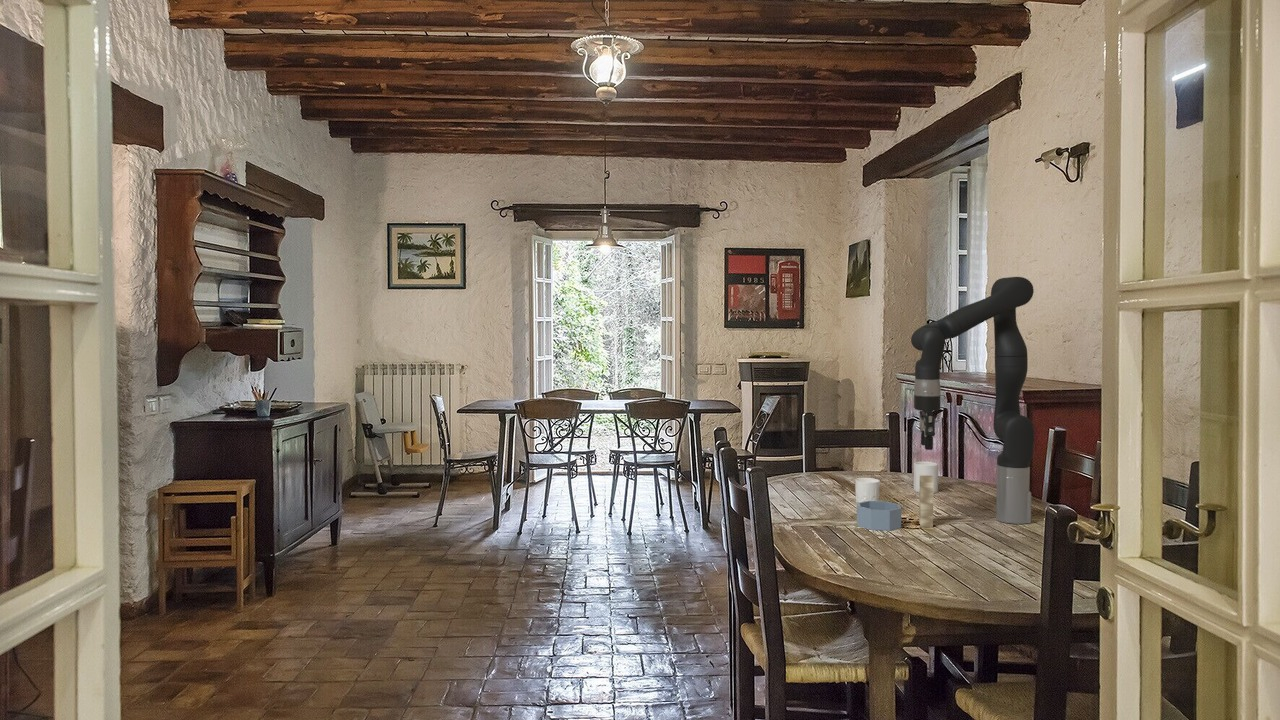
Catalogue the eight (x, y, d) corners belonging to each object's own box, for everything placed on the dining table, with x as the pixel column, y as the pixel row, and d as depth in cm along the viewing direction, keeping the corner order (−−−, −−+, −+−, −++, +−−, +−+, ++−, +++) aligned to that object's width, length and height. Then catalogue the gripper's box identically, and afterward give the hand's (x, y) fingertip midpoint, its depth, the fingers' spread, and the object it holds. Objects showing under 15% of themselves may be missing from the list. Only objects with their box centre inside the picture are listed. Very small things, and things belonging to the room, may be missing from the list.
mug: (912, 486, 298) (912, 459, 298) (935, 487, 296) (936, 460, 295) (914, 493, 287) (914, 465, 286) (938, 494, 284) (939, 466, 284)
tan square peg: (931, 524, 243) (931, 475, 243) (932, 527, 240) (933, 477, 239) (919, 523, 244) (919, 475, 243) (920, 526, 241) (921, 477, 240)
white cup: (852, 511, 260) (852, 481, 260) (857, 506, 267) (857, 476, 267) (876, 514, 257) (877, 483, 256) (881, 509, 264) (882, 479, 263)
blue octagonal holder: (897, 520, 248) (898, 501, 247) (902, 531, 235) (902, 511, 235) (855, 519, 250) (856, 500, 250) (858, 529, 238) (858, 509, 238)
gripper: (944, 396, 232) (943, 451, 233) (936, 392, 246) (936, 444, 247) (917, 396, 234) (916, 450, 235) (911, 391, 248) (910, 443, 249)
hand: (926, 447), depth 241 cm, fingers open, 8 cm apart
